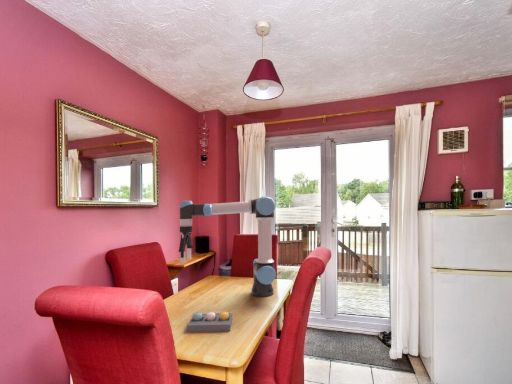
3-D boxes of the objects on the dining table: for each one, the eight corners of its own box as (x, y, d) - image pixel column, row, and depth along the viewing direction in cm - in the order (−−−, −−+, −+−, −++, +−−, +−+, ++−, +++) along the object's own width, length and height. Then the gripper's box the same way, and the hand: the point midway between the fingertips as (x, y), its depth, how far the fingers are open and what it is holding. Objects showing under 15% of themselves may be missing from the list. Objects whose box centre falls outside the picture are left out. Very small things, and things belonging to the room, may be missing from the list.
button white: (216, 317, 134) (215, 311, 134) (214, 321, 129) (214, 315, 129) (207, 317, 134) (207, 312, 134) (205, 321, 129) (205, 315, 129)
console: (232, 318, 138) (232, 312, 138) (230, 331, 124) (229, 324, 125) (193, 319, 138) (193, 313, 138) (187, 332, 124) (187, 325, 124)
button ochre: (229, 317, 134) (228, 311, 134) (228, 320, 129) (228, 314, 129) (220, 317, 134) (220, 311, 134) (219, 321, 129) (219, 315, 129)
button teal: (203, 317, 134) (202, 312, 134) (201, 321, 129) (201, 315, 129) (194, 318, 133) (194, 312, 134) (192, 321, 129) (192, 315, 129)
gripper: (185, 224, 177) (185, 257, 175) (173, 227, 152) (173, 265, 150) (196, 224, 177) (196, 257, 175) (186, 227, 152) (186, 264, 150)
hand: (185, 260), depth 163 cm, fingers open, 13 cm apart
